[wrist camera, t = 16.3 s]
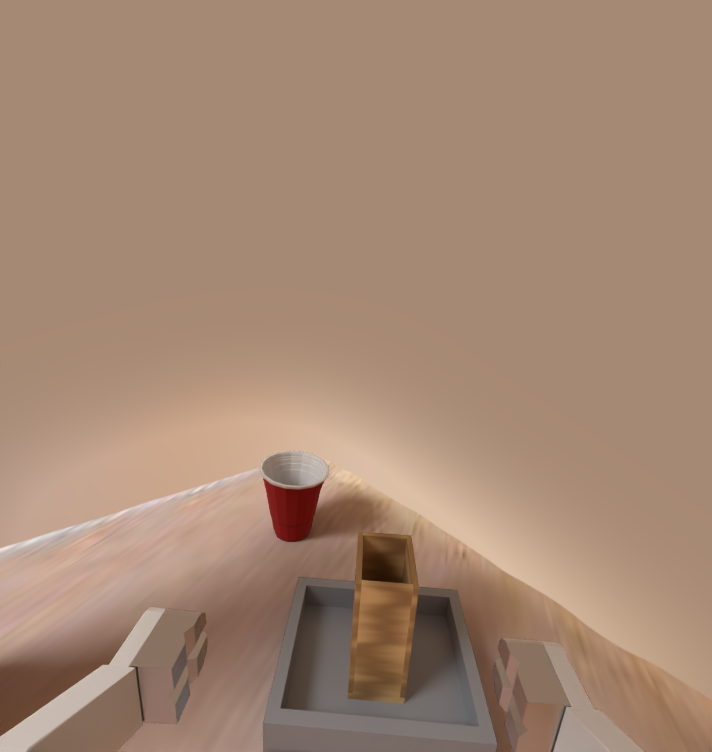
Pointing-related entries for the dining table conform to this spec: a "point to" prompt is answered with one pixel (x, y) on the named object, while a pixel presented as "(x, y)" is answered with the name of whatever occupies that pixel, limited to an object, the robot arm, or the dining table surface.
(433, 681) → the gray tray
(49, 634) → the dining table surface
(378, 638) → the wooden pencil holder
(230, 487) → the dining table surface
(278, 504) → the plastic cup
